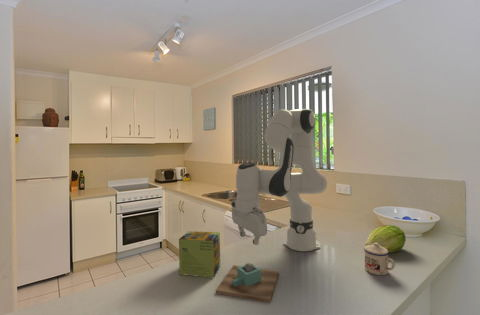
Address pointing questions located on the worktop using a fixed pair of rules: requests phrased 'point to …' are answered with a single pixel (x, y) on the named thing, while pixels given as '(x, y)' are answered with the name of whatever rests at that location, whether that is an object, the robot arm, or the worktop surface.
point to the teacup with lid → (377, 259)
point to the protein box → (199, 253)
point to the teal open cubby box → (247, 276)
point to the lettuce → (387, 238)
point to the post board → (253, 292)
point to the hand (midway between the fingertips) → (249, 240)
